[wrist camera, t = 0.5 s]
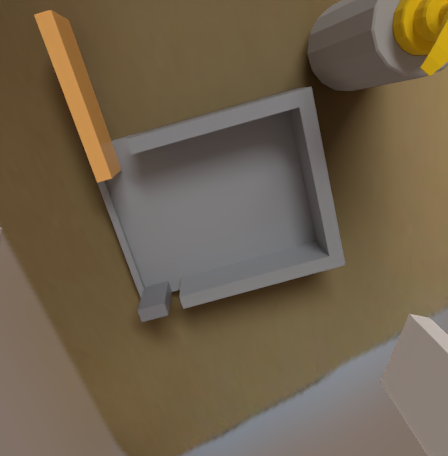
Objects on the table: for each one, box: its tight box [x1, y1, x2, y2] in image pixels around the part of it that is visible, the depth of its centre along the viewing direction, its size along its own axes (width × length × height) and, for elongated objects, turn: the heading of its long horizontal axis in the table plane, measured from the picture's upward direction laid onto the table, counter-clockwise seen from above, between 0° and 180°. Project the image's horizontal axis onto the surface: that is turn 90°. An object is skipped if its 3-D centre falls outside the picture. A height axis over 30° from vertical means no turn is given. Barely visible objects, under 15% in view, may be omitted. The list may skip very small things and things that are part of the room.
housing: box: [98, 87, 345, 322], centre depth 35 cm, size 15×19×5 cm
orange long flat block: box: [34, 10, 122, 183], centre depth 31 cm, size 12×1×4 cm, turn 15°
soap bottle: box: [307, 0, 448, 91], centre depth 26 cm, size 7×7×18 cm
